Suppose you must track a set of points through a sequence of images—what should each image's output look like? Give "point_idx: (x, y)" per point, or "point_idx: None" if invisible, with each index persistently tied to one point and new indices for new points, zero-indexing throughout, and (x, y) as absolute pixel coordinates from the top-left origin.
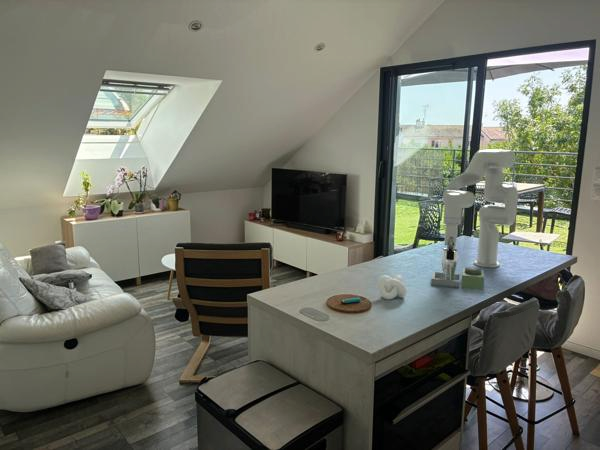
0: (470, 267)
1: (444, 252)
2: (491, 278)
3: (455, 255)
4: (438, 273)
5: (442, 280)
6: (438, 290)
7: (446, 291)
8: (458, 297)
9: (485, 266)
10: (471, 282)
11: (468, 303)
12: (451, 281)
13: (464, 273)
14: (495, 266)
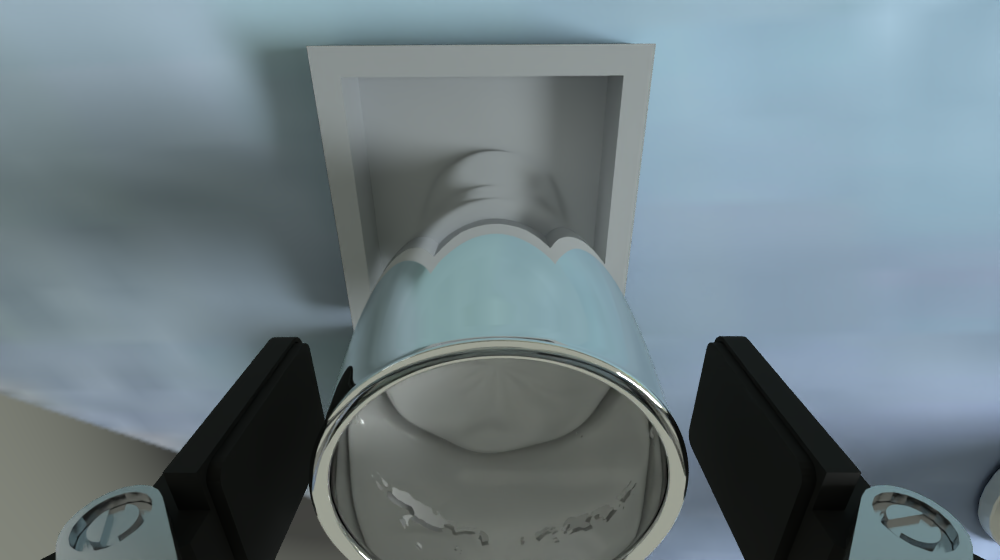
0: None
1: (363, 358)
2: (699, 498)
3: (397, 507)
4: (615, 116)
5: (330, 178)
6: (191, 133)
7: (208, 209)
8: (111, 307)
9: (997, 480)
10: None
11: (24, 372)
12: (346, 267)
13: None
14: (987, 531)
